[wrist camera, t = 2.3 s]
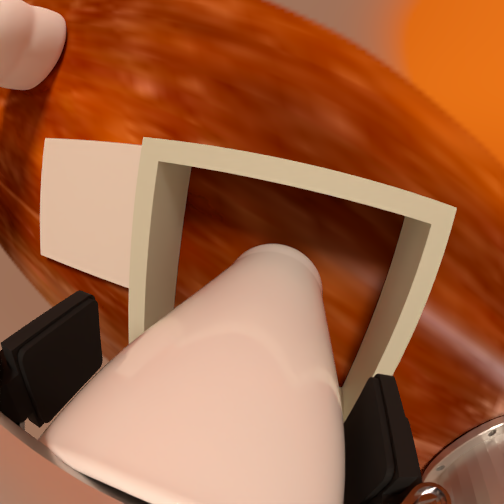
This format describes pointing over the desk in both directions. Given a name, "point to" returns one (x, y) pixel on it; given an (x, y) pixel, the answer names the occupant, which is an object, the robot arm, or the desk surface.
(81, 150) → the ceramic tile
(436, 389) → the desk surface
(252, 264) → the drinking glass
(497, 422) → the robot arm
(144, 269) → the beige square frame
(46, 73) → the water bottle
